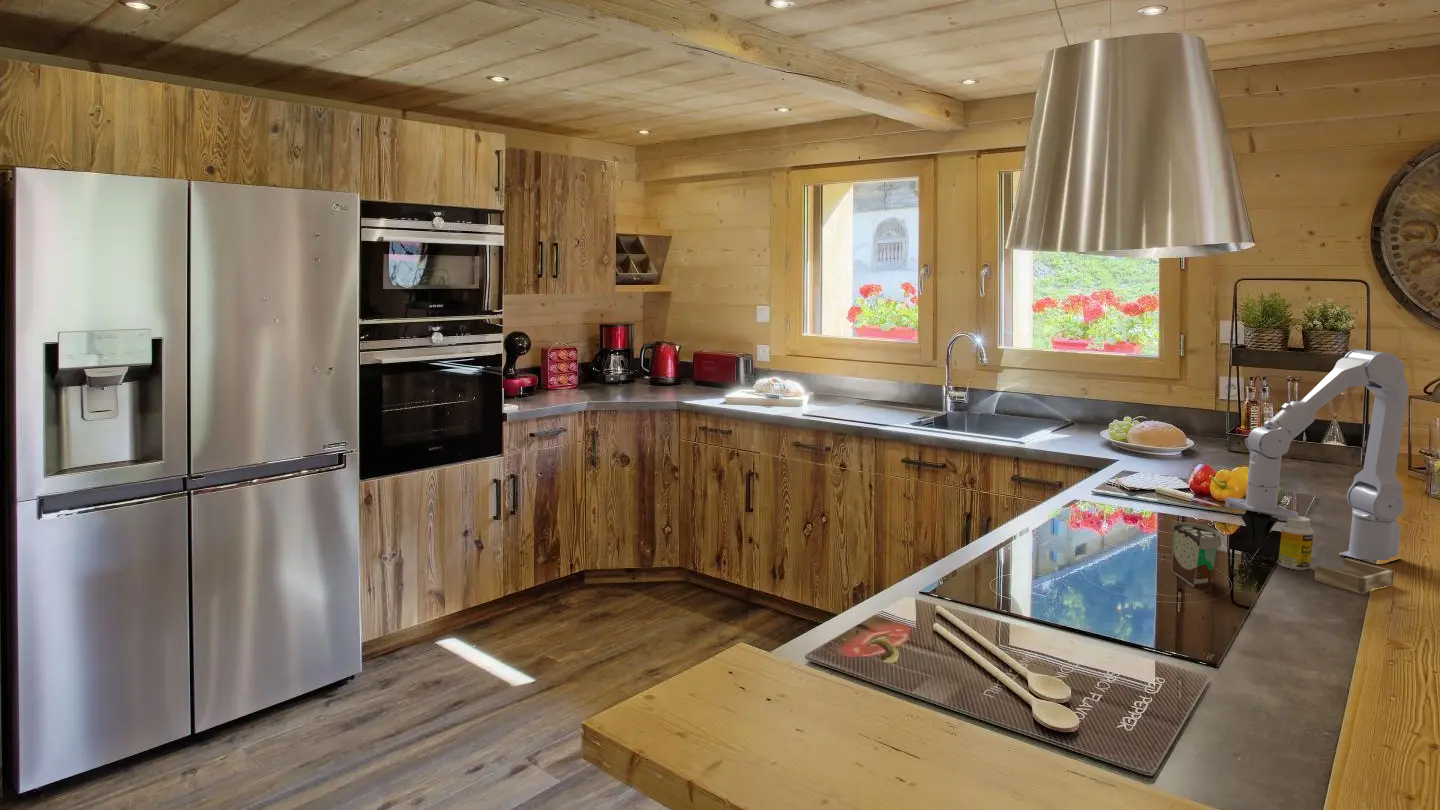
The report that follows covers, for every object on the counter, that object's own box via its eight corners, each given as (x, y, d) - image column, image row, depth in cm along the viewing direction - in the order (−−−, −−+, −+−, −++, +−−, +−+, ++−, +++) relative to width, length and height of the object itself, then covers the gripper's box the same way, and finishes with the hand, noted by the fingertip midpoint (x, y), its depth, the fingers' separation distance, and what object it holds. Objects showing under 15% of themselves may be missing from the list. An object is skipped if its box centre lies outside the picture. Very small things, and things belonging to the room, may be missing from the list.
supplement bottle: (1301, 572, 190) (1306, 523, 188) (1272, 565, 194) (1277, 517, 193) (1315, 568, 193) (1320, 519, 191) (1286, 561, 197) (1291, 513, 196)
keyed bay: (1344, 572, 190) (1346, 558, 189) (1392, 585, 182) (1394, 570, 182) (1314, 580, 185) (1315, 565, 184) (1362, 594, 177) (1364, 579, 177)
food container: (1230, 590, 179) (1235, 539, 177) (1197, 589, 179) (1202, 538, 177) (1199, 569, 191) (1203, 521, 189) (1168, 569, 191) (1172, 521, 190)
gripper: (1218, 479, 202) (1213, 541, 204) (1286, 494, 190) (1279, 559, 192) (1238, 476, 206) (1233, 536, 208) (1306, 490, 193) (1300, 554, 195)
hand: (1257, 547), depth 200 cm, fingers closed
